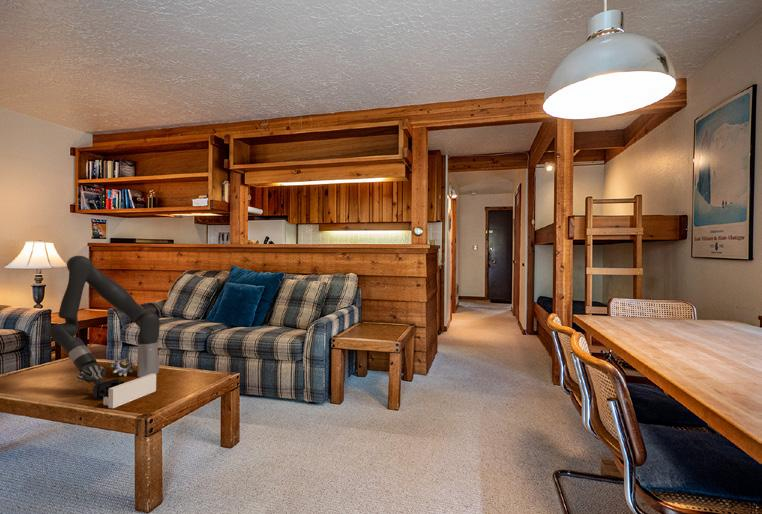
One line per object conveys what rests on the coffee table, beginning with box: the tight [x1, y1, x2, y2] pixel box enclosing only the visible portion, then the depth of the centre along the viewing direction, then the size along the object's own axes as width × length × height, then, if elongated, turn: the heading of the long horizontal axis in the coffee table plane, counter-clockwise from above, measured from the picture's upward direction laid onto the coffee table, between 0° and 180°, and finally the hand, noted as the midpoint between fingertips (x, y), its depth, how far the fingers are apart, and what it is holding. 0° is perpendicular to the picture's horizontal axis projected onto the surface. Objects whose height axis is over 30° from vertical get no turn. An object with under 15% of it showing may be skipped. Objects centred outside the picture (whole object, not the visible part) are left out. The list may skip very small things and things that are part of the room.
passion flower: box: [108, 356, 136, 377], centre depth 205 cm, size 11×11×12 cm
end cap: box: [91, 377, 125, 401], centre depth 174 cm, size 10×7×7 cm
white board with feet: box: [102, 374, 157, 409], centre depth 171 cm, size 22×7×8 cm, turn 166°
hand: (102, 386), depth 175 cm, fingers closed
